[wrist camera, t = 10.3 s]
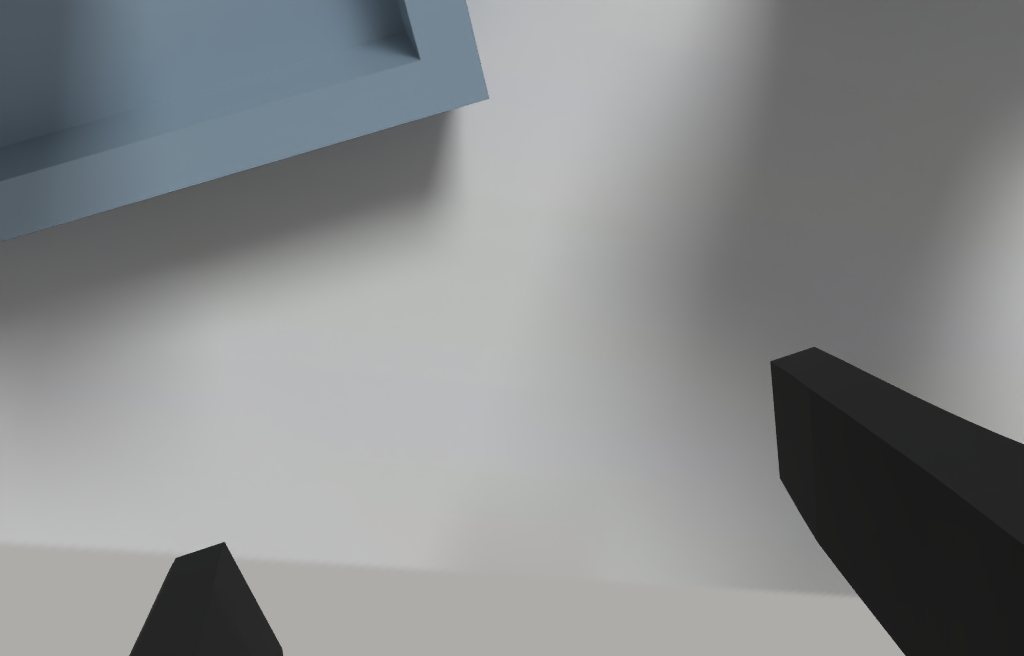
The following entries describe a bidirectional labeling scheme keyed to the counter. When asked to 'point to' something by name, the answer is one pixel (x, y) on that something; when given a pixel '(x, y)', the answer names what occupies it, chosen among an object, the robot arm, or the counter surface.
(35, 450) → the counter surface
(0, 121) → the slate-blue tray
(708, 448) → the counter surface
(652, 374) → the counter surface
